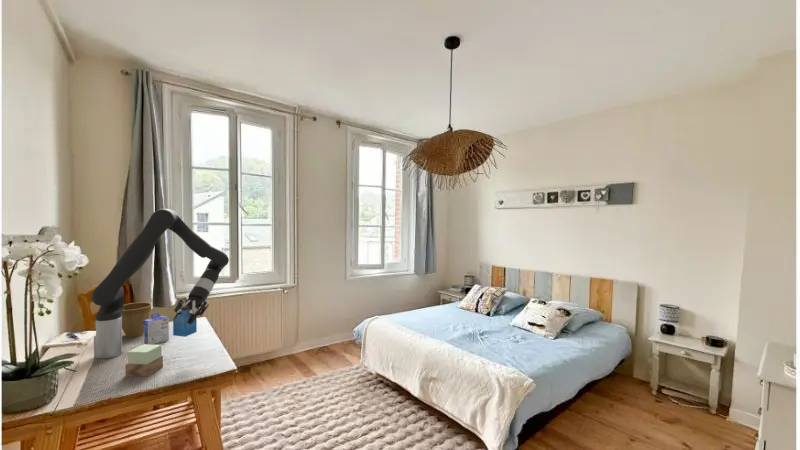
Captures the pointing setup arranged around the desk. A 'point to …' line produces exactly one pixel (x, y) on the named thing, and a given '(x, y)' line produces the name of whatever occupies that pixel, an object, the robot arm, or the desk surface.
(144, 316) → the plant pot
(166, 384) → the desk surface
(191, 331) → the perfume bottle
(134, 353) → the tower top block
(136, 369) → the tower base block
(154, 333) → the ink cartridge box
